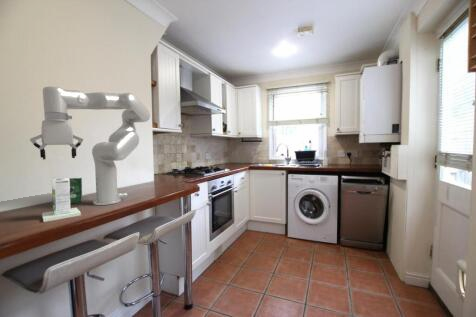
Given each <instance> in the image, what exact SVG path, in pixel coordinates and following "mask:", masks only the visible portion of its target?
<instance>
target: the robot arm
mask: <svg viewBox="0 0 476 317" xmlns="http://www.w3.org/2000/svg"><path fill="white" fill-rule="evenodd" d="M42 100H43V101H42V102H43V112H44V113H43V114H44V120H42V121H41V127H40V130H41V131H40V132H41V133H40V135H36V136H34V137H32V138H29V141H30V142H31V144H32V145H33V146H34V147H36V148H38V149H39V153H40V154H39V155H40V158H42V160H43V161H44V160H46V159H47V158H46V149H45V147H46V146H54V145H57V146H59V145H60V146H61V145H62V146H63V145H64V146H67V145H69V146H70V147H71V150H70V151H71V158H72V159H76V157H77V148H79V147H80V146H81V144H82V142H83V141H84V139H83V138H81V137H79V136H77V135H74V134H73V128H72V123H71V122H70V121H69V120H72V119H73V116H72V115H69V114H68V110H95V111H96V110H97V111H99V110H123V111H122V113H121V119H122V120H121V121H122V123H121V126H120V127H118V128H117V129H116V130H114V132H113V133H111V134H110V135H109V137H108V141H105V142H103V141H101V142H98V143H96V144H94V145H93V147H92V148H91V149H92V150H91V151H92V152H91V154H92V158H93V162H94V169H95V170H94V172H95V191H96V192H95V193H96V194H95V195H96V200H95V199H94V200H93V202H92V204H93V205H95V206H107V205H113V204H114V205H115V204H117V203H120V202H121V201H122V198H123V197H124V198H125V197H128V192H118V175H117V173H118V172H117V166H116V163H115V162H117V161H123V160H125V159H126V158H127V157H128V156H129V155H130V154H131V153H133V151H134V150H135V149H137V147H138V145H139V143H140V136H139V134H138V133H137V128H136V125H135V124H137V123H146V122H148V121H149V119H150V118H151V114H150V111H149V110H148V109H147V106H145V104H144V103H143V102H142V101H141V100H140V99H139V97H137V96H136V95H135V94H133V93H131V92H123V93H114V92H113V93H111V92H102V91H99V92H87V93H84V92H83V91H80V90H73V89H65V88H62V87H57V86H45V87H43V88H42ZM40 139H41V142H42V144H39V143H37V140H40ZM74 140H77V143H75V144H74Z"/></svg>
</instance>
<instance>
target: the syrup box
mask: <svg viewBox="0 0 476 317" xmlns="http://www.w3.org/2000/svg"><path fill="white" fill-rule="evenodd" d="M51 189H52V190H51V192H52V195H51V196H52V197H51V198H52V199H51V200H52V211H53V215H58V214H65V213H70V208H71V203H70V181H69V178H67V177H65V178H64V177H63V178H53V179H52V181H51Z"/></svg>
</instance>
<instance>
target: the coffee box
mask: <svg viewBox="0 0 476 317" xmlns="http://www.w3.org/2000/svg"><path fill="white" fill-rule="evenodd" d="M69 181H70V204H80V203H82V202H83V178H82V177H74V178H73V177H71V178H69Z"/></svg>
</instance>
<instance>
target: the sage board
mask: <svg viewBox="0 0 476 317" xmlns="http://www.w3.org/2000/svg"><path fill="white" fill-rule="evenodd" d="M79 216H82V213H81V211H80V210H79V209H78V207H72V208H71V207H70V213H65V214H58V215H53V210H52V211H48V212H47V211H46V212H41V217H42V221H43V222H44V223H45V222H53V221H58V220H62V219H66V218H67V219H69V218H72V217H79Z"/></svg>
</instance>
